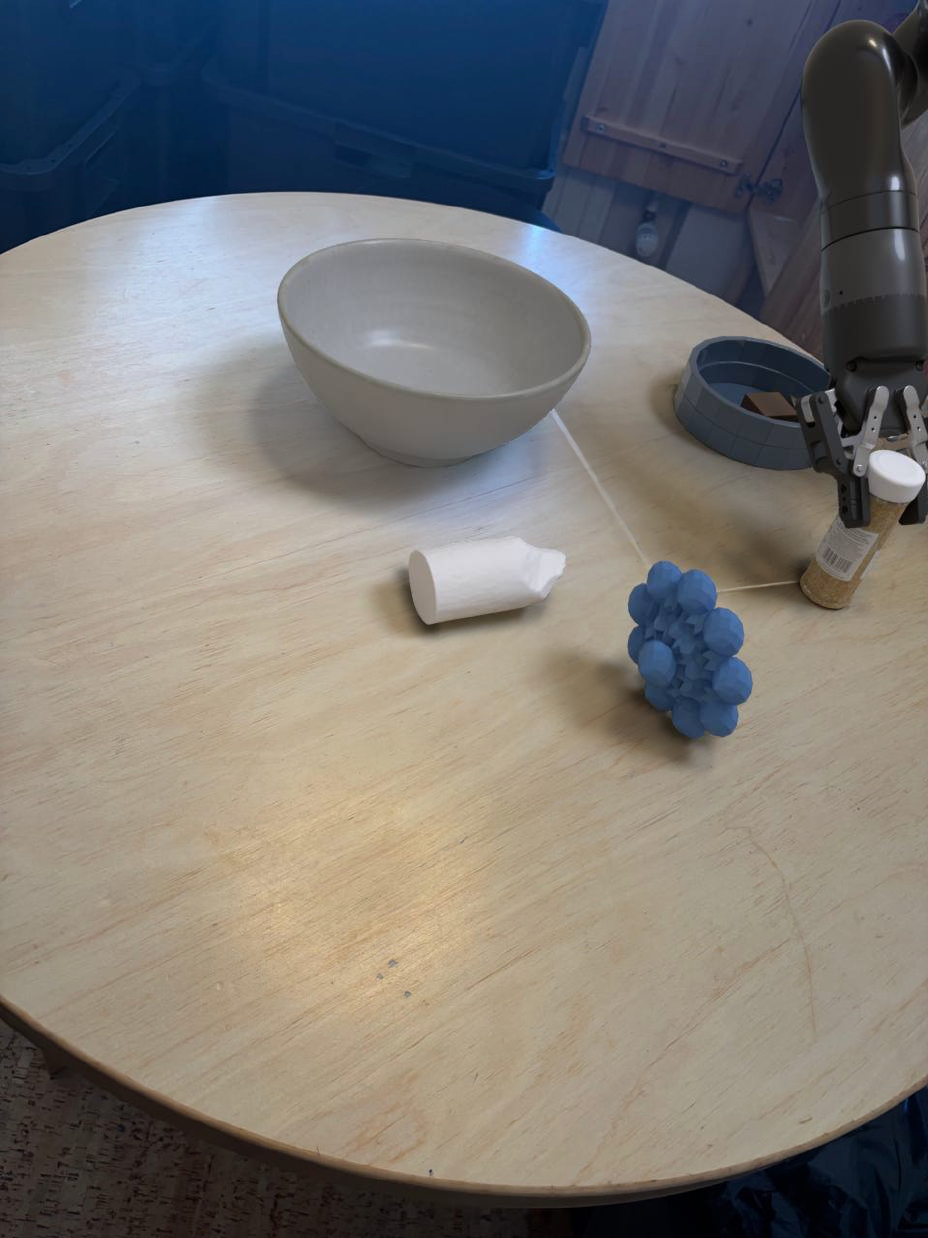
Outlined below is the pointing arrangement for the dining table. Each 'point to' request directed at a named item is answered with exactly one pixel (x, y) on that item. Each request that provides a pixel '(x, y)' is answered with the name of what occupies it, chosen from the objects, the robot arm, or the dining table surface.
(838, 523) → the sprinkles bottle
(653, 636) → the blue knobbly ring
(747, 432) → the bowl
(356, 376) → the decorative bowl
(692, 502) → the dining table surface
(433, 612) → the white bottle
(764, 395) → the block
